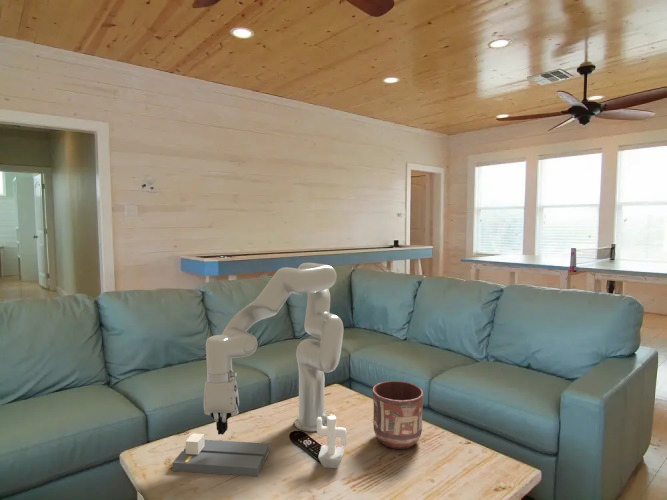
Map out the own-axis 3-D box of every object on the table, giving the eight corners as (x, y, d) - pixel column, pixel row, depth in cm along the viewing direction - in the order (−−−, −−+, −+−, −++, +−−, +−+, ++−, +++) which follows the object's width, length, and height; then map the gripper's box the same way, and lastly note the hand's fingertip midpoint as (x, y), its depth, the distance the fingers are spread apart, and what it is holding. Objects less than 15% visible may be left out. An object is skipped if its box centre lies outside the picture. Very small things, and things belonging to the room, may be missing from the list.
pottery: (360, 439, 145) (361, 388, 144) (394, 423, 156) (394, 376, 155) (400, 461, 131) (401, 405, 130) (433, 442, 143) (434, 391, 142)
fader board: (269, 450, 137) (269, 442, 137) (257, 476, 123) (257, 467, 123) (192, 446, 139) (192, 438, 139) (172, 470, 125) (172, 461, 125)
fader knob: (204, 449, 134) (204, 434, 134) (198, 457, 129) (197, 442, 129) (192, 448, 135) (192, 433, 134) (185, 457, 130) (185, 441, 129)
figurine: (345, 471, 126) (345, 423, 125) (314, 468, 127) (314, 420, 126) (347, 458, 133) (348, 412, 132) (318, 455, 134) (318, 410, 133)
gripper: (246, 371, 133) (249, 427, 134) (201, 370, 134) (204, 425, 136) (239, 381, 125) (241, 439, 127) (191, 380, 127) (194, 438, 128)
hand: (222, 432), depth 131 cm, fingers closed
